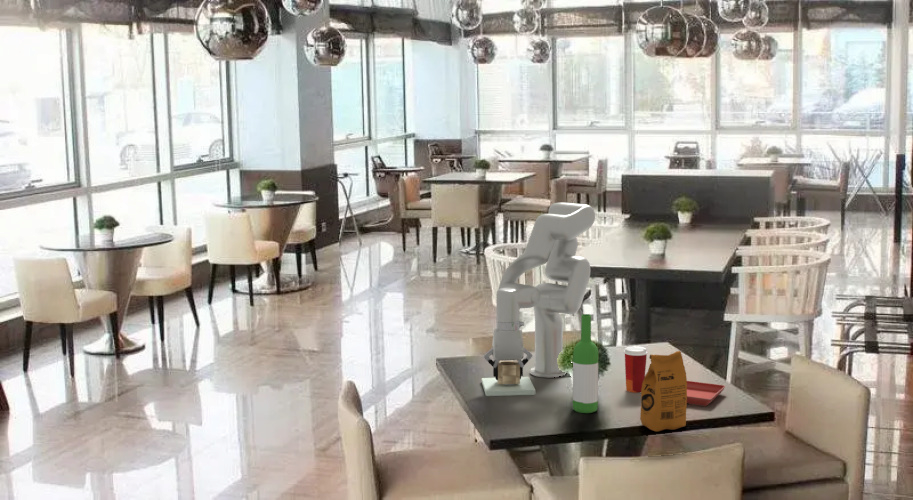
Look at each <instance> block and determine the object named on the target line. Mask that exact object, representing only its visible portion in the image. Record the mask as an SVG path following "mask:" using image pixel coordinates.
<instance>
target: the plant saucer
mask: <svg viewBox="0 0 913 500" xmlns="http://www.w3.org/2000/svg"><path fill="white" fill-rule="evenodd" d="M725 388H726V385H724V384H716V383H707V382H699V381H693V380H691V381H690V380H687V403H689V404H688V405H694V404H695V405H694V406H701V405H702V406H703V407H707V406H708V405H709V404H710V403H711V402H713V401H714V400H715V399H716V398H717V397H718V396H720V394H721V393H722V392H723V391H724V390H725Z"/></svg>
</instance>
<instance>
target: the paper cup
mask: <svg viewBox="0 0 913 500" xmlns="http://www.w3.org/2000/svg"><path fill="white" fill-rule="evenodd" d="M623 353H624V367H625V369H624V370H625V387H626V388H625V389H626V391H627V392H629V393H634V394H635V393H636V394H637V393H639V394H641V389H642V383H643V381H644V378H645V375H646V368H647V355H648V351H647V348H646V347H644V346H638V345H634V346H627V347H625V348H624V351H623Z"/></svg>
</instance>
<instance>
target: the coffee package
mask: <svg viewBox="0 0 913 500" xmlns="http://www.w3.org/2000/svg"><path fill="white" fill-rule="evenodd" d="M648 358H649V360H650V364H649V365H648V369H647V372H646V373H645V378H644V381H643V383H642V389H641V392H640V394H641V395H640V416H639V420H640V422H641V425H642V426H644V427H646V428H647V429H649V430H650V431H654V432H661V431H664V430H672V431H673V430H677V429H680V428H683V427H686V426H687V425H686V424H687V408H688V407H687V405H688V404H687V381H688V380H687V379H688V378H687V372H686V367H685V365H684V358H683V355H682V351H681V350H678V351H674V352H673V353H671V354H664V355H663V354H649V357H648Z"/></svg>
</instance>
